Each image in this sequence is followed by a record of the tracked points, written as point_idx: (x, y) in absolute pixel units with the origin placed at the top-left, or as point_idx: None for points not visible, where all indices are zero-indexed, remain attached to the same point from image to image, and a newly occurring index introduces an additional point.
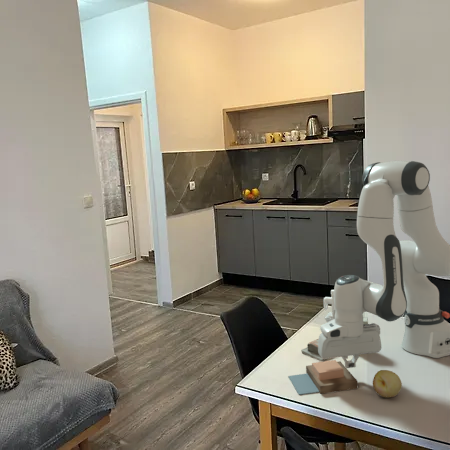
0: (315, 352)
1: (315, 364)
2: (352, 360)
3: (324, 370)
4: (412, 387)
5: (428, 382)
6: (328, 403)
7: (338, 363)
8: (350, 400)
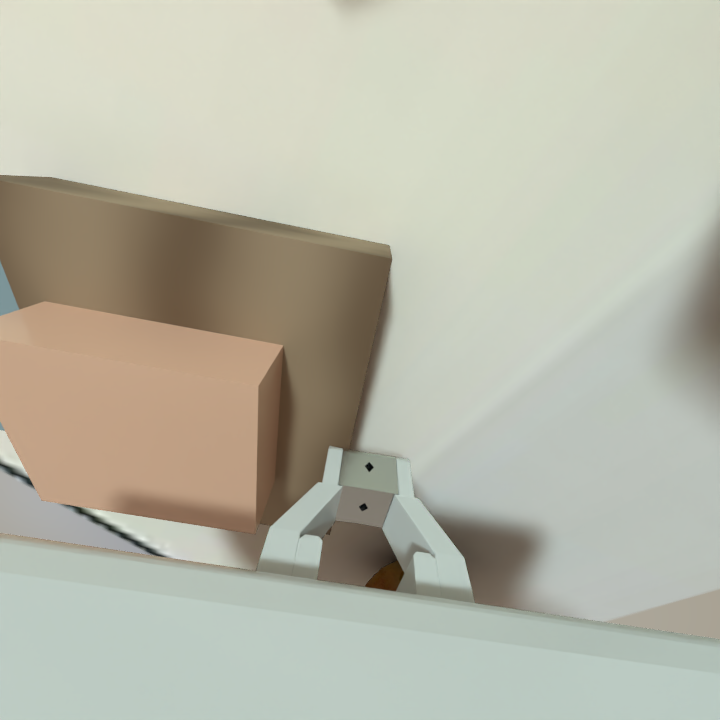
0: None
1: (2, 377)
2: (392, 515)
3: (93, 491)
4: (563, 565)
5: (664, 568)
6: (152, 518)
7: (345, 296)
8: (253, 534)
